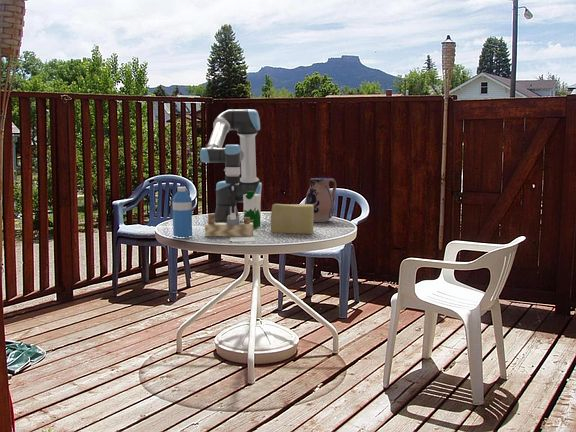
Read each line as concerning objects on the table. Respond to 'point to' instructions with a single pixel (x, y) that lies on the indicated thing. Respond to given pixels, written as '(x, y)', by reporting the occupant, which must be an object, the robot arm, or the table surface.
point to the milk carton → (252, 208)
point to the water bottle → (182, 213)
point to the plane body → (228, 228)
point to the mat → (242, 239)
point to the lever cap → (232, 221)
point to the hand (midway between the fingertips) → (233, 217)
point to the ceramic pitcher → (321, 198)
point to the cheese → (292, 218)
